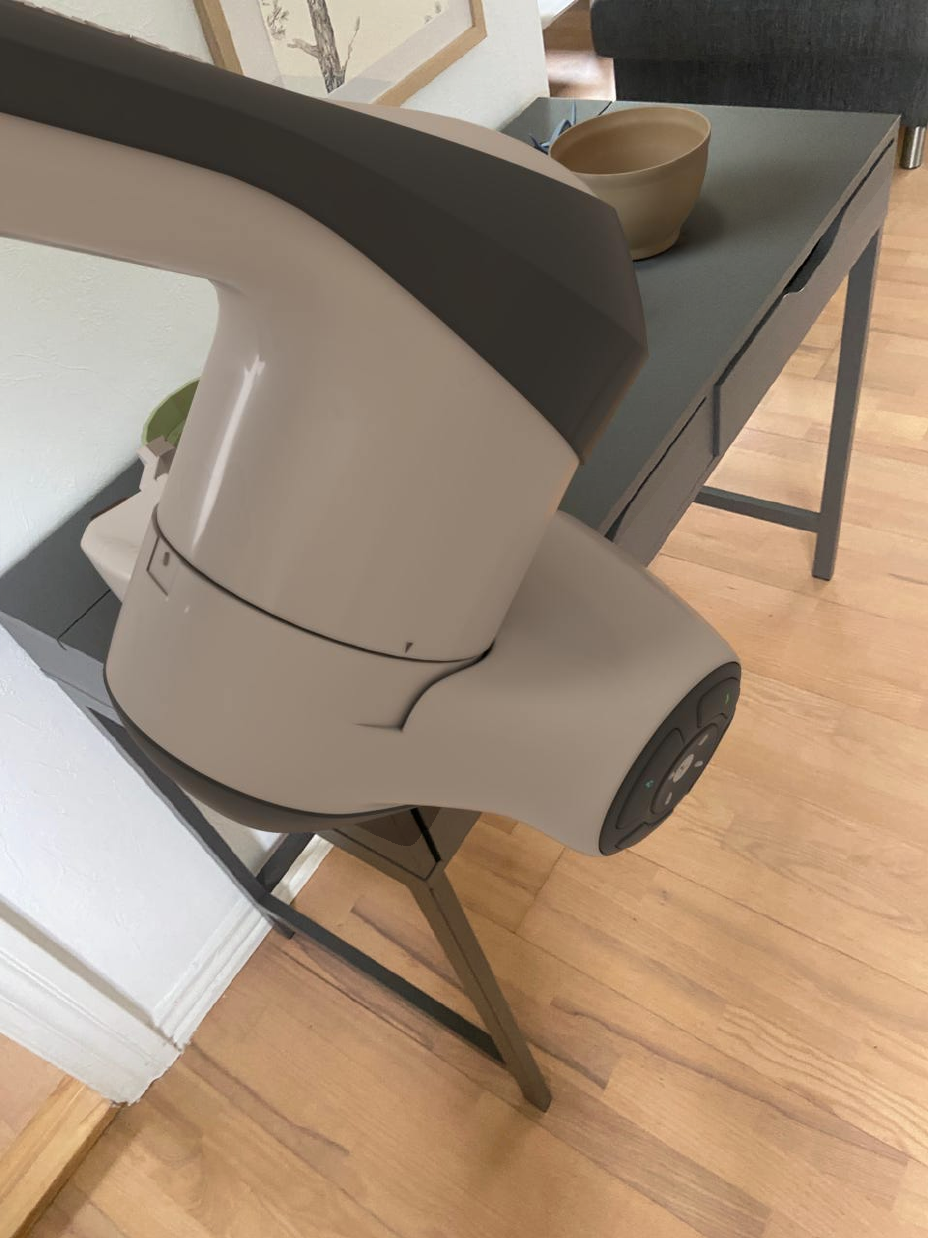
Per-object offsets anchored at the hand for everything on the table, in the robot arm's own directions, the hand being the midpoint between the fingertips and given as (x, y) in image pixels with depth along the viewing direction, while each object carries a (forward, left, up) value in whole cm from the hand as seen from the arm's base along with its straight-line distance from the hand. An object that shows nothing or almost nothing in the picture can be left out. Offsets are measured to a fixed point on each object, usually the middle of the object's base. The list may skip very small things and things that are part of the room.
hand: (237, 405), depth 45 cm
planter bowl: (-4, +64, -26) cm, 70 cm away
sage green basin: (-28, +21, -26) cm, 44 cm away
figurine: (-20, +81, -26) cm, 88 cm away
